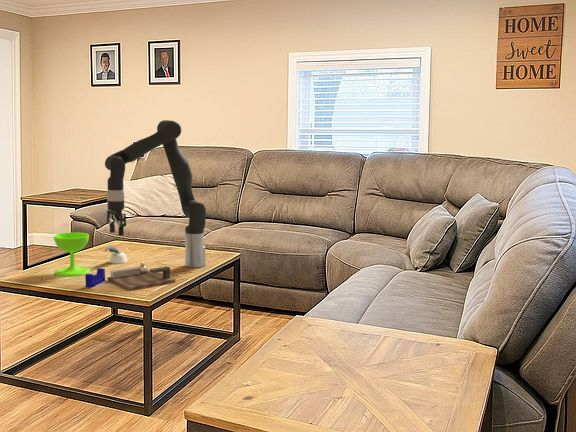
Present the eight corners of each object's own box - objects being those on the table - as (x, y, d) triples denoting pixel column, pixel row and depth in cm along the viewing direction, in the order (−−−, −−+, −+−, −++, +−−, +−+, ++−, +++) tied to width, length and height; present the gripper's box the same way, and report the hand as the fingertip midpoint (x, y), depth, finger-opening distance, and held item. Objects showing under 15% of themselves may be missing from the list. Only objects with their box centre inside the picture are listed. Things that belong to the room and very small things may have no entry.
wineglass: (48, 272, 299) (47, 235, 296) (78, 266, 311) (77, 231, 308) (66, 278, 289) (64, 240, 286) (96, 272, 301) (95, 235, 298)
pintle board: (152, 273, 302) (152, 260, 301) (175, 282, 287) (175, 268, 286) (107, 280, 287) (107, 266, 286) (129, 290, 272) (129, 276, 271)
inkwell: (130, 260, 327) (130, 241, 326) (114, 268, 310) (114, 248, 308) (113, 259, 329) (113, 240, 328) (97, 267, 312) (97, 247, 310)
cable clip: (96, 280, 287) (95, 267, 286) (105, 281, 286) (104, 268, 285) (82, 287, 276) (82, 274, 275) (91, 288, 275) (91, 275, 274)
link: (144, 271, 299) (144, 261, 298) (149, 272, 296) (148, 263, 295) (109, 276, 287) (109, 266, 287) (114, 278, 284) (114, 268, 283)
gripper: (130, 200, 285) (131, 235, 288) (116, 197, 296) (116, 230, 298) (115, 201, 280) (116, 237, 283) (101, 198, 291) (102, 232, 293)
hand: (116, 234), depth 291 cm, fingers open, 8 cm apart
